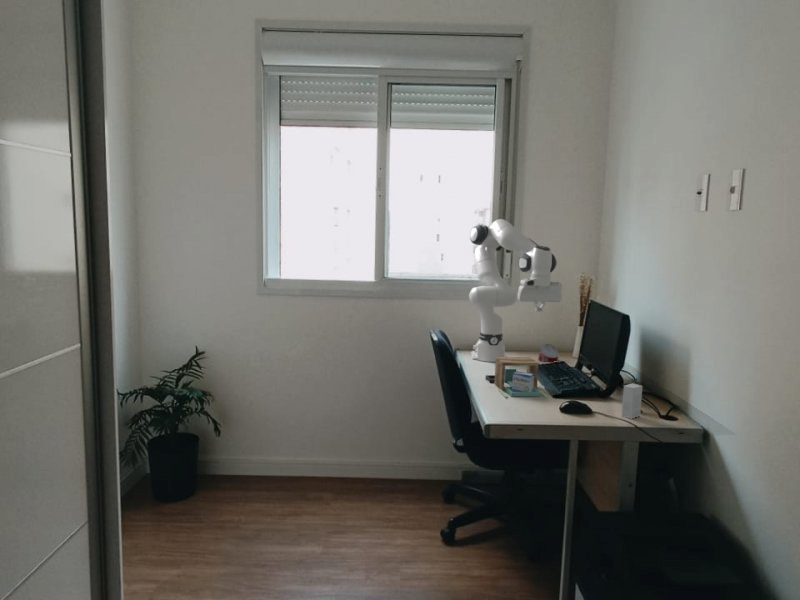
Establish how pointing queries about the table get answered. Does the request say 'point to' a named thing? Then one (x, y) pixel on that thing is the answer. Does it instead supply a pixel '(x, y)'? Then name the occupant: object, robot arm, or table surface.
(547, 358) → the canned food
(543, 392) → the bay marker right
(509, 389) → the sled
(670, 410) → the table surface
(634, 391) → the skincare box
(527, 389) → the medicine box
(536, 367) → the tunnel
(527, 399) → the table surface
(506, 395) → the bay marker left
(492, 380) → the pit left
